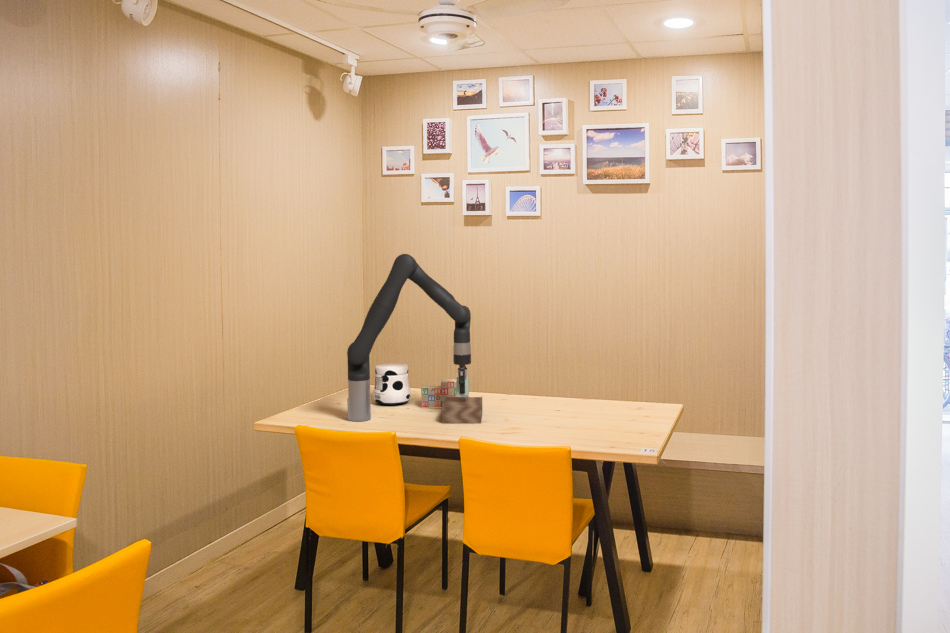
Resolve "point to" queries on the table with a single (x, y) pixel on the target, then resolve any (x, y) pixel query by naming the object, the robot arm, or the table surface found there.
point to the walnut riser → (462, 410)
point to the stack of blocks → (439, 393)
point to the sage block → (465, 386)
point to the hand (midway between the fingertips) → (462, 392)
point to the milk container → (391, 384)
